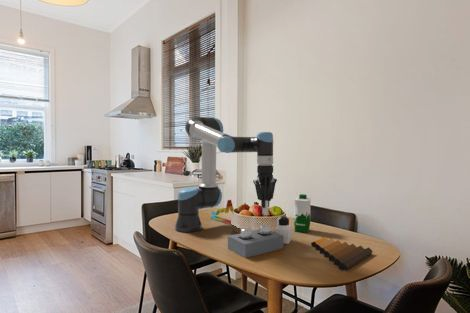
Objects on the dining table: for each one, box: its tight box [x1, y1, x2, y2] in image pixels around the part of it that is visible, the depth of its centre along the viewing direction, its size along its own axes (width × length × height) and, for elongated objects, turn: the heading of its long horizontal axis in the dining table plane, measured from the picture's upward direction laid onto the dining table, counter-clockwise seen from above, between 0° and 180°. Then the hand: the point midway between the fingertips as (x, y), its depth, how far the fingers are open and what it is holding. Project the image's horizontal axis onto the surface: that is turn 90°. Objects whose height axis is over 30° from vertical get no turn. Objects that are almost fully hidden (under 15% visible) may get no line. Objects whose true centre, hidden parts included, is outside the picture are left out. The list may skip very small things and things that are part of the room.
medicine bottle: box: [274, 216, 292, 245], centre depth 151 cm, size 7×7×12 cm
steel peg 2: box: [259, 223, 271, 236], centre depth 143 cm, size 5×5×5 cm
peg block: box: [227, 229, 284, 259], centre depth 141 cm, size 14×22×6 cm, turn 124°
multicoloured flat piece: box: [210, 199, 235, 226], centre depth 187 cm, size 30×3×15 cm, turn 40°
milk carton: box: [293, 193, 311, 233], centre depth 170 cm, size 9×9×20 cm
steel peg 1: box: [240, 227, 253, 240], centre depth 137 cm, size 5×5×5 cm
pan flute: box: [311, 236, 373, 272], centre depth 133 cm, size 25×3×25 cm
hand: (265, 214), depth 143 cm, fingers closed
